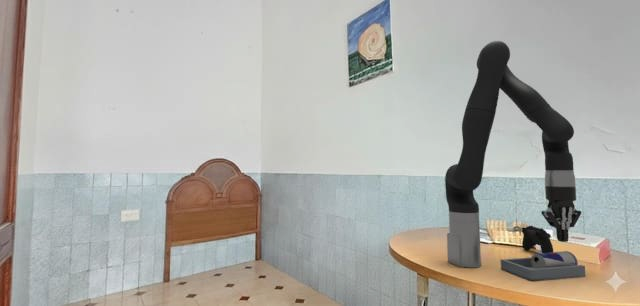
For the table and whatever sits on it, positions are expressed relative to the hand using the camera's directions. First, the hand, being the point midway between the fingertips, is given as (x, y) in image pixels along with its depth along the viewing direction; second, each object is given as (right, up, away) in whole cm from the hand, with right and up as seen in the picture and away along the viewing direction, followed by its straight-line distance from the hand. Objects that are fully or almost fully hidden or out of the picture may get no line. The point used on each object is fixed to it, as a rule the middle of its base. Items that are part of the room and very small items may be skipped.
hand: (562, 241), depth 95 cm
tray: (-8, -9, -2) cm, 12 cm away
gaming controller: (+6, -10, +19) cm, 22 cm away
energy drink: (+2, -6, 0) cm, 6 cm away
